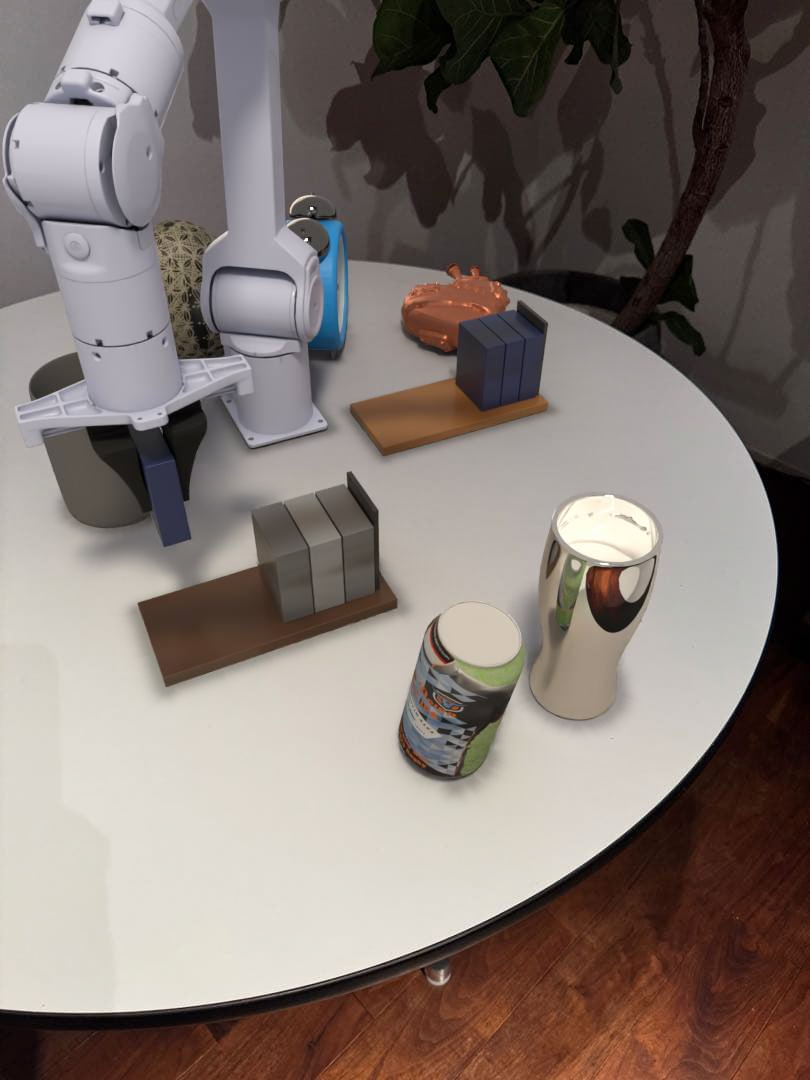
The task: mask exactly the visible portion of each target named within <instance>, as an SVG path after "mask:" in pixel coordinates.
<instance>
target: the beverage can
mask: <svg viewBox="0 0 810 1080" xmlns="http://www.w3.org/2000/svg"><path fill="white" fill-rule="evenodd" d="M525 660H526V649H525V646H524V643H523V638H522V633H521V629H520V627H519V625H518V623H517V622H516V620H514V618H513V617H512V616H511V615H510V614H509V613H508V612H507V611H505V610H504V609H503V608H502V607H499V606H498V605H496V604H493V603H490V602H487V601H483V600H476V599H465V600H460V601H457V602H454V603H452V604H450V605H449V606H448V607H446V608H445V609H444V610H443V611H442V612H441V613H439V614H438V615H437V616H435V617H434V618H433V619H432V620H431V621H430V623H429V624H428V625H427V627H426V630H425V632H424V635H423V639H422V642H421V646H420V649H419V652H418V655H417V660H416V664H415V667H414V671H413V674H412V677H411V682H410V684H409V688H408V692H407V695H406V698H405V699H406V700H405V702H404V705H403V706H404V707H403V710H402V714H401V717H400V721H399V725H398V740H399V744H400V746H401V749H402V751H403V753H404V754H405V756H406V757H407V758H408V760H409V761H410V762H411V763H412V764H413V765H414V766H416V767H417V768H418V769H420V770H421V771H424V773H427V774H429V775H432V776H436V777H439V778H450V779H452V778H460V777H464V776H467V775H469V774H471V773H473V772H474V771H475V770H477V769H478V768H479V767H480V766H482V764H483V763H484V761H485V760H486V758H487V756H488V754H489V752H490V749H491V746H492V744H493V742H494V739H495V736H496V734H497V732H498V730H499V727H500V725H501V722H502V720H503V717H504V716H505V713H506V711H507V708H508V706H509V704H510V701H511V698H512V696H513V693H514V691H515V688H516V686H517V684H518V681H519V679H520V676H521V674H522V672H523V669H524V666H525Z"/></svg>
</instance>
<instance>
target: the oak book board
mask: <svg viewBox="0 0 810 1080" xmlns="http://www.w3.org/2000/svg"><path fill="white" fill-rule="evenodd" d="M548 326H549V322H548V321H547V320H545V318H544V317H542V316H541V315H540V314H539V313H537V312H536V311H534V310H533V308H531V307H530V306H529V305H528V304H526V303H525V302H524V301H523V300H521V299H520V300H519V299H518V300H517V302H516V309H510V310H506V311H505V312H501V313H497V315H496V314H493V315H488V316H484V317H480V318H478V319H477V318H475V319H471V320H466V321H462V322H459V330H458V348H456V349H457V350H456V367H455V377H450V378H446V379H444V380H439V381H435V382H431V383H427V384H423V385H419V386H415V387H412V388H407V389H404V390H400V391H395V392H391V393H388V394H384V395H380V396H377V397H376V396H375V397H371V398H368V399H364V400H360V401H357V402H352V403H350V404H349V407H350V408H349V410H350V414H351V415H352V416H353V418H354V419H355V420H356V421H357V423H358V424H359V426H360V427H361V429H363V430H364V432H365V433H366V435H367V436H368V437H369V439H370V440H371V441H372V443H373V444H374V445H375V447H376V448H377V449H378V450H379V452H380V454H381V455H382V456H383V457H385V456H389V455H392V454H396V453H399V452H404V451H406V450H410V449H414V448H417V447H420V446H424V445H427V444H431V443H435V442H439V441H442V440H445V439H449V438H450V439H451V438H453V437H457V436H461V435H464V434H468V433H471V432H475V431H478V430H481V429H482V430H483V429H485V428H489V427H493V426H497V425H499V424H504V423H507V422H510V421H515V420H518V419H522V418H525V417H529V416H532V415H536V414H539V413H543V412H546V411H548V407H549V401H548V400H547V399H545V397H543V396H542V395H541V394H540V388H541V381H542V374H543V373H542V372H543V366H544V359H545V351H546V343H547V335H548V328H549V327H548Z"/></svg>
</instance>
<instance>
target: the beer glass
mask: <svg viewBox="0 0 810 1080" xmlns="http://www.w3.org/2000/svg"><path fill="white" fill-rule="evenodd" d="M663 542H664V530H663V526H662V524H661V522H660V520H659V519H658V518H657V516H656V515H655V514H654V513H653V512H652V511H651V510H650V509H649V508H648V507H646V506H645V505H643V504H642V503H640V502H639V501H637V500H635V499H632V498H630V497H627V496H624V495H622V494H616V493H612V492H603V491H602V492H601V491H595V492H594V491H593V492H584V493H580V494H577V495H574V496H573V495H572V496H571V497H569V498H567V499H565V500H564V501H562V502H561V503H559V505H558V506H556V508H555V510H554V512H553V513H552V516H551V522H550V527H549V530H548V534H547V537H546V540H545V544H544V547H543V548H544V549H543V552H542V557H541V562H540V568H539V577H538V587H537V588H538V589H537V590H538V591H537V592H538V596H537V597H538V598H537V599H538V612H539V624H540V638H541V640H540V647H539V651H538V653H537V655H536V658H535V660H534V662H533V663H532V666H531V669H530V673H529V687H530V690H531V693H532V695H533V697H534V699H535V700H536V701H537V702H538V703H539V705H540V706H541V707H543V708H544V709H546V710H547V712H549V713H551V714H552V715H556V716H558V717H560V718H564V719H568V720H574V721H575V720H576V721H583V720H590V719H594V718H596V717H599V716H600V715H602V714H604V713H606V712H607V711H608V710H609V709H610V707H611V706H612V705H613V704H614V702H615V699H616V696H617V691H618V677H617V675H618V666H619V663H620V660H621V657H622V656H623V653H624V652H625V650H626V649H627V646H628V645H629V644H630V641H631V640H632V638H633V637H634V635H635V633H636V631H637V630H638V628H639V626H640V624H641V622H642V620H643V618H644V615H645V613H646V611H647V609H648V606H649V603H650V600H651V597H652V595H653V591H654V587H655V583H656V579H657V574H658V568H659V562H660V556H661V550H662V545H663Z"/></svg>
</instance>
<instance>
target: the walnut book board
mask: <svg viewBox="0 0 810 1080" xmlns="http://www.w3.org/2000/svg"><path fill="white" fill-rule="evenodd" d="M250 515H251V523H252V529H253V535H254V536H253V537H254V543H255V550H256V558H257V563H258V564H257V565H255V566H252V567H248V568H246V569H242V570H239V571H236V572H232V573H230V574H226V575H222V576H220V577H216V578H213V579H210V580H207V581H203V582H200V583H196V584H194V585H191V586H187V587H183V588H181V589H177V590H174V591H171V592H168V593H164V594H162V595H161V594H160V595H158V596H155V597H152V598H148V599H145V600H141V601H138V602H137V607H138V611H139V613H140V617H141V620H142V622H143V626H144V628H145V631H146V634H147V637H148V640H149V643H150V646H151V649H152V651H153V655H154V657H155V660H156V663H157V666H158V669H159V672H160V675H161V678H162V681H163V683H164V687H165V688H167V687H171V686H173V685H176V684H178V683H179V684H180V683H181V682H185V681H187V680H190V679H193V678H196V677H200V676H202V675H205V674H208V673H211V672H214V671H217V670H220V669H222V668H226V667H228V666H231V665H234V664H236V663H240V662H243V661H246V660H250V659H251V658H255V657H258V656H260V655H263V654H267V653H269V652H273V651H275V650H278V649H281V648H283V647H286V646H290V645H292V644H295V643H298V642H301V641H304V640H308V639H310V638H312V637H316V636H319V635H322V634H325V633H328V632H330V631H333V630H336V629H339V628H342V627H345V626H347V625H350V624H351V625H352V624H354V623H356V622H359V621H362V620H365V619H369V618H371V617H374V616H377V615H380V614H383V613H386V612H389V611H392V610H394V609H397V608H398V597H397V596H396V594H395V593H394V592H393V590H392V588H391V587H390V585H389V584H388V582H387V580H386V579H385V578H384V575H383V574H382V573H381V571H380V516H379V515H380V513H379V509H378V507H377V506H376V504H375V503H374V501H373V500H372V499H371V497H370V496H369V494H368V492H366V490H365V489H364V487H363V486H362V484H361V482H360V481H359V480H358V479H357V477H356V476H355V475H354V473H353V472H352V470H349V471H347V472H346V484H345V483H341V484H337V485H333V486H330V487H327V488H323V489H321V490H320V489H319V490H317V491H315V492H310V493H307V494H304V495H299V496H297V497H296V496H295V497H293V498H289V499H285V500H283V501H278V502H275V503H270V504H268V505H264V506H261V507H257V508H254V509H251V510H250Z"/></svg>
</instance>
